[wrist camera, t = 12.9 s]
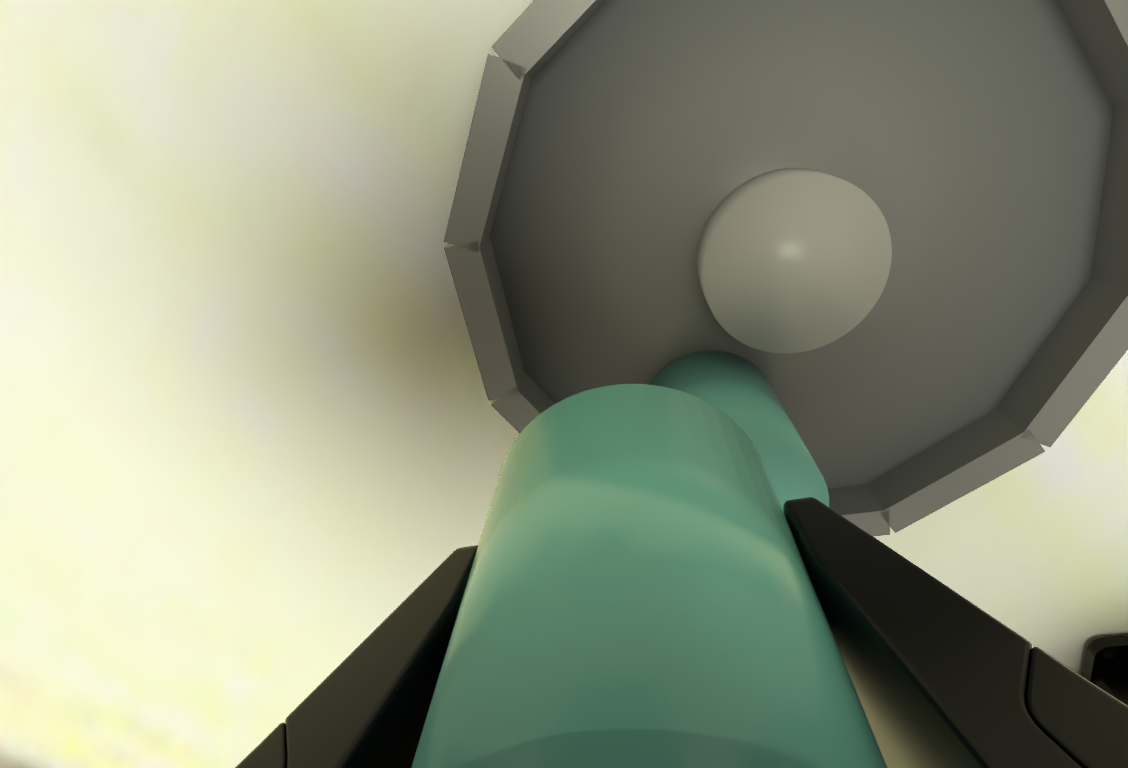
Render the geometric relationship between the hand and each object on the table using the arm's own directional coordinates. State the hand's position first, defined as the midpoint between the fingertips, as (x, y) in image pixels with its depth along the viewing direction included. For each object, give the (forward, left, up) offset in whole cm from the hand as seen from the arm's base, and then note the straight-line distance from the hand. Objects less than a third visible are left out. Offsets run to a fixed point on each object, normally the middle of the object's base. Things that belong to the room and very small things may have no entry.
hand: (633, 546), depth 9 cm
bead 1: (0, 0, -1) cm, 1 cm away
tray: (-5, -1, -12) cm, 13 cm away
